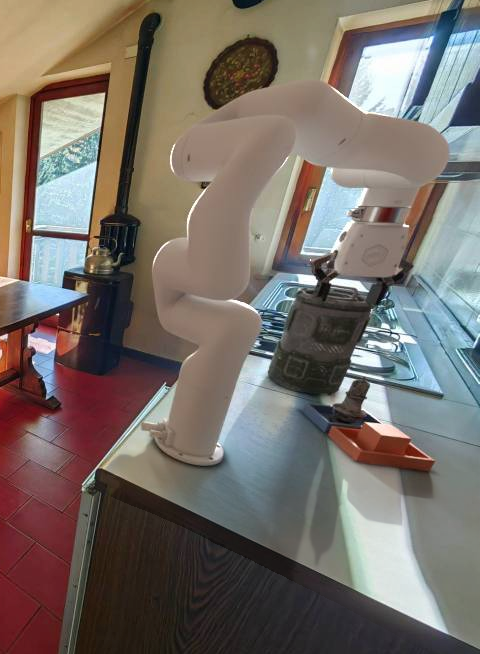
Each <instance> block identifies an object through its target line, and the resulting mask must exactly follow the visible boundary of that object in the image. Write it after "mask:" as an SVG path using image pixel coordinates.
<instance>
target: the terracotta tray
mask: <svg viewBox="0 0 480 654" xmlns="http://www.w3.org/2000/svg"><path fill="white" fill-rule="evenodd" d="M360 430H361V429H352V428H344V427H335V426H332V428H331V430H330V432H329V433H327V436H328V437H329V439H331V440H332V441H333V442H334V443H335V444H336V445H337V446H338V447H339V448H341V449H342V450H343V451H344V452H345V453H346V454H347V455H348V456H349V457H350V458H351V459H352V460H353V461H355V462H357V463H363V464H370V465H379V466H387V467H392V468H393V467H394V468H401V469H410V470H415V471H424V472H430V471H431V469H432V468H433V467H434V464H435V463H436V460H435V459H434V458H432V457H431V456H429V455H428V454H427V453H425V452H424V451H422V450H421V449H420V448H419V447H417V446H416V445H414V444H413V443H412V442H410V443H409V445H408V447H407V448H406V450H405V452H404V454H403V455H396V454H388V453H380V452H373V451H365V450H364V449H363V448H362V447H361V446H359V445H358V444H357V443H356V442H355V440H356V438H357V436H358V434H359V432H360Z"/></svg>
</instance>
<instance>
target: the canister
mask: <svg viewBox="0 0 480 654" xmlns="http://www.w3.org/2000/svg"><path fill="white" fill-rule="evenodd" d="M331 288H336V289H332V290H331V289H330V290H329V293H328V296H327V298H326V301H324V302H320V301H318V300H315V299H313V296H314V295H313V293H314V290H315V288H307V287H304V288H300V289H298V290H297V291H296V292H295V293H294V297H295V299H294V301H293V302H292V303H291V305H290V307H289V309H288V313H287V315H286V319H285V322H284V323H283V324H284V325H283V332H282V334H281V338H280V339H279V340H277V343H276V346H275V349H274V352H273V354H272V358H271V361H270V362H269V365H268V369H267V376H268V377H269V378H270V379H272V380H274V381H275V382H276V384H277V385H278V386H280V387H282V388H285V389H288V390H290V391H294V392H297V393H301V392H303V393H307V394H312V395H313V394H314V395H327V396H332V395H335V394H336V393H338V392H339V390H340V389H341V385H342V383H343V382H344V380H345V377H346V375H347V373H348V370H349V369H350V366H351V363H352V356H353V354H354V351H355V349H356V348H357V345H358V344H360V343H361V341H362V339H363V337H364V335H365V332H366V330H367V327H368V325H369V322H370V321H371V318H372V317H371V316H370V315H371V313H372V310H373V309H375V308H376V307H377V305H373V304H370V303H368V302H366V301H365V300H366V297H367V296H363V295H361V294H360V293H359V290H358V288H357V287H352V286H345V285H339V284H332V285H331ZM341 289H343V290H341ZM347 290H349V291H347ZM350 290H351V291H350ZM352 291H353V292H352Z"/></svg>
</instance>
